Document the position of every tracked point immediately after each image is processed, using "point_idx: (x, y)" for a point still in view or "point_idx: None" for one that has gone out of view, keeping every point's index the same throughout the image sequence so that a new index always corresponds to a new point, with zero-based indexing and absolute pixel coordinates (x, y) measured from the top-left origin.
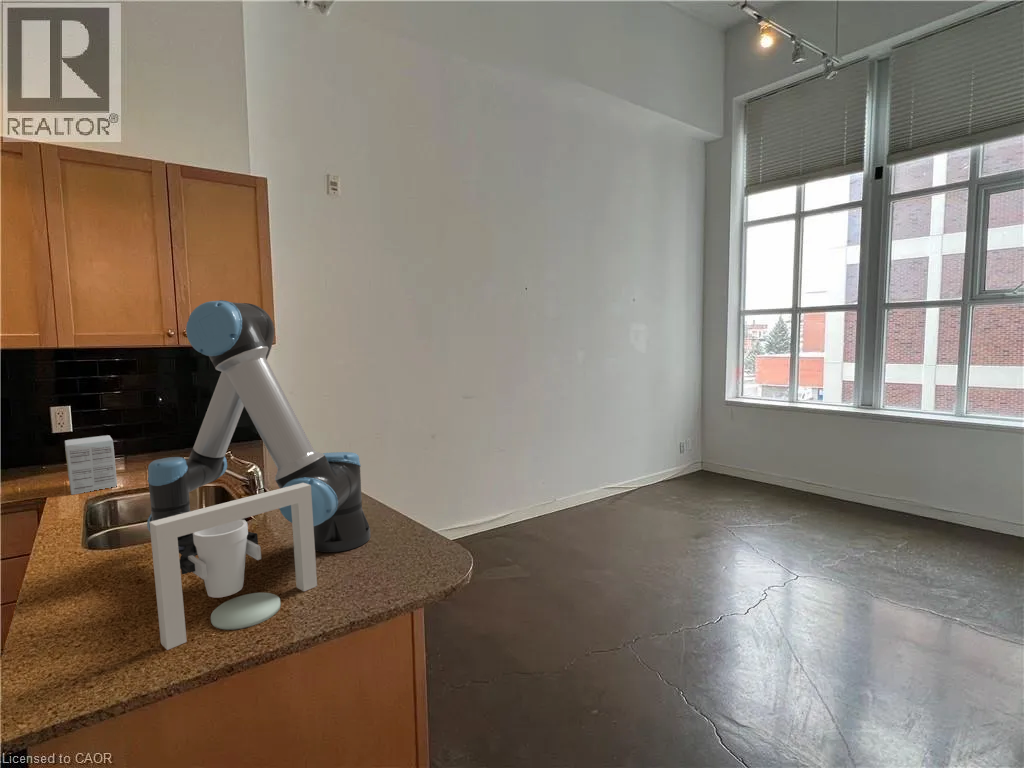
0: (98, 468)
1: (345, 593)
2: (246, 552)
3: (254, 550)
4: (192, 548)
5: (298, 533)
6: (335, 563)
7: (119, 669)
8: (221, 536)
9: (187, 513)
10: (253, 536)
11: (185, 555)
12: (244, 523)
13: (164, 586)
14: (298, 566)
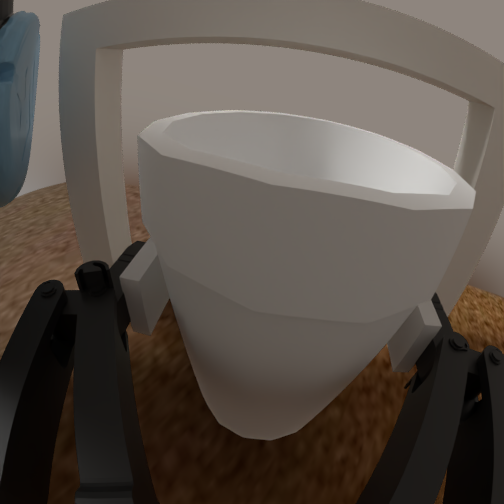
0: None
1: (130, 234)
2: (164, 300)
3: None
4: (390, 486)
5: (116, 146)
6: (10, 303)
7: (467, 333)
8: (344, 132)
9: (460, 42)
10: (64, 290)
11: (451, 358)
12: (203, 113)
13: None
14: (120, 247)
